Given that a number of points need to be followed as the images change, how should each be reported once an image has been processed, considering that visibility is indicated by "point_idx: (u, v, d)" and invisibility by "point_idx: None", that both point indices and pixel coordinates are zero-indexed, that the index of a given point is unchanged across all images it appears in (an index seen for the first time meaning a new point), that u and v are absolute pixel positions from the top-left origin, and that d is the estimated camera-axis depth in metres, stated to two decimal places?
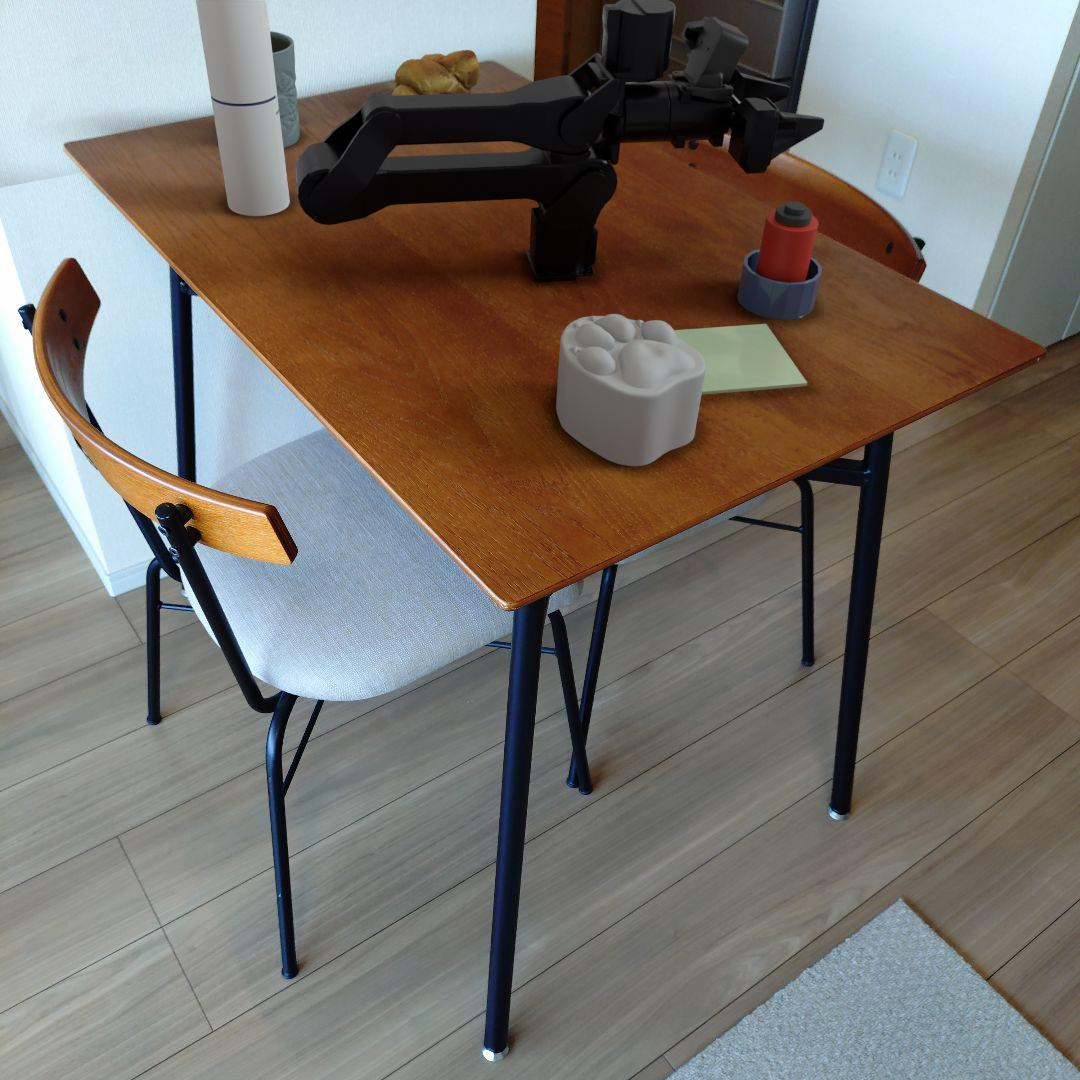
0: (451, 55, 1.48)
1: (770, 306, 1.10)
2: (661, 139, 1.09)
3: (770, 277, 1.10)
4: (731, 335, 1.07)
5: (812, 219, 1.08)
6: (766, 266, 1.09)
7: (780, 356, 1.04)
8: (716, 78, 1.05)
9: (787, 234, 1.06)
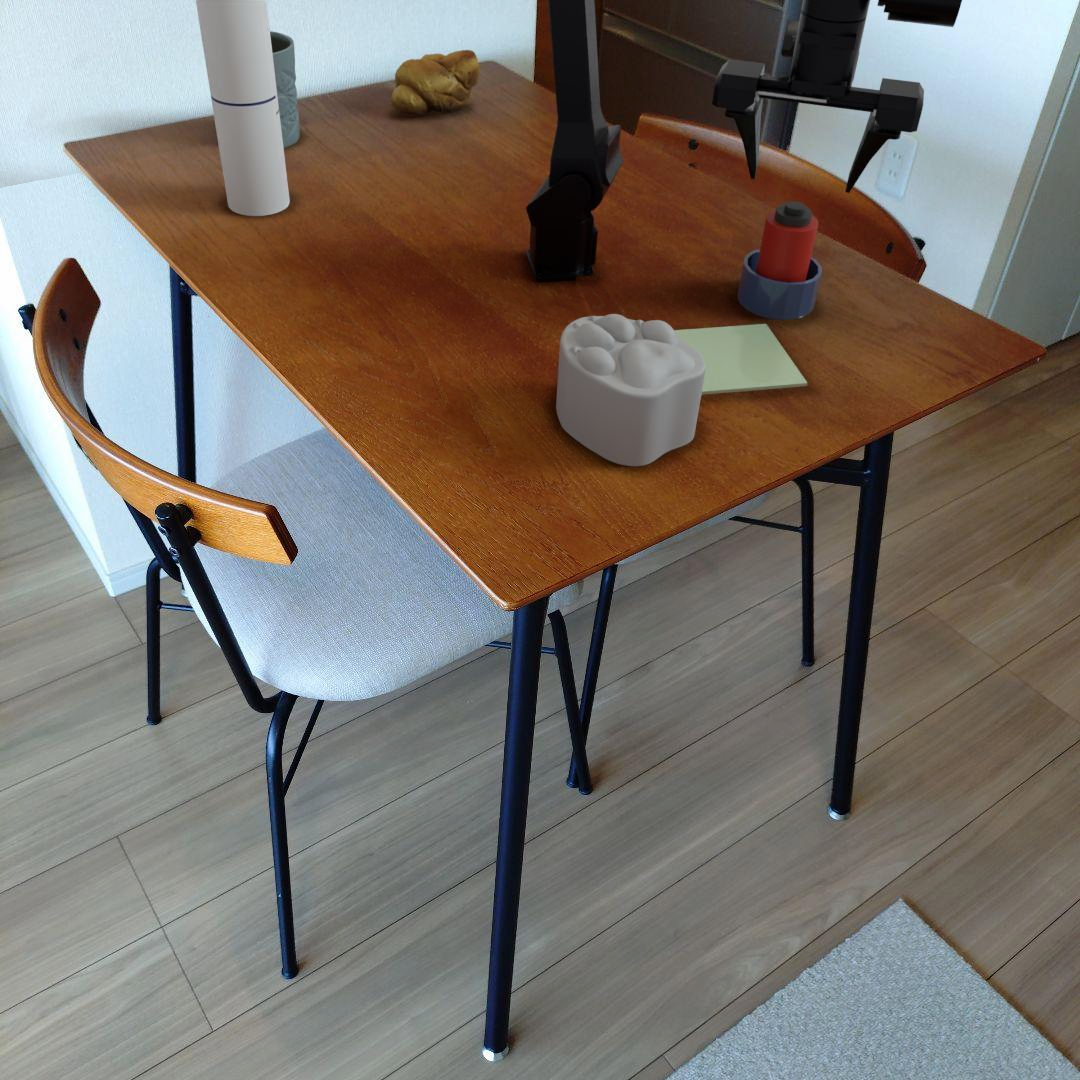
0: (451, 55, 1.48)
1: (770, 306, 1.10)
2: (809, 12, 0.94)
3: (770, 277, 1.10)
4: (731, 335, 1.07)
5: (812, 219, 1.08)
6: (766, 266, 1.09)
7: (780, 356, 1.04)
8: None
9: (787, 234, 1.06)
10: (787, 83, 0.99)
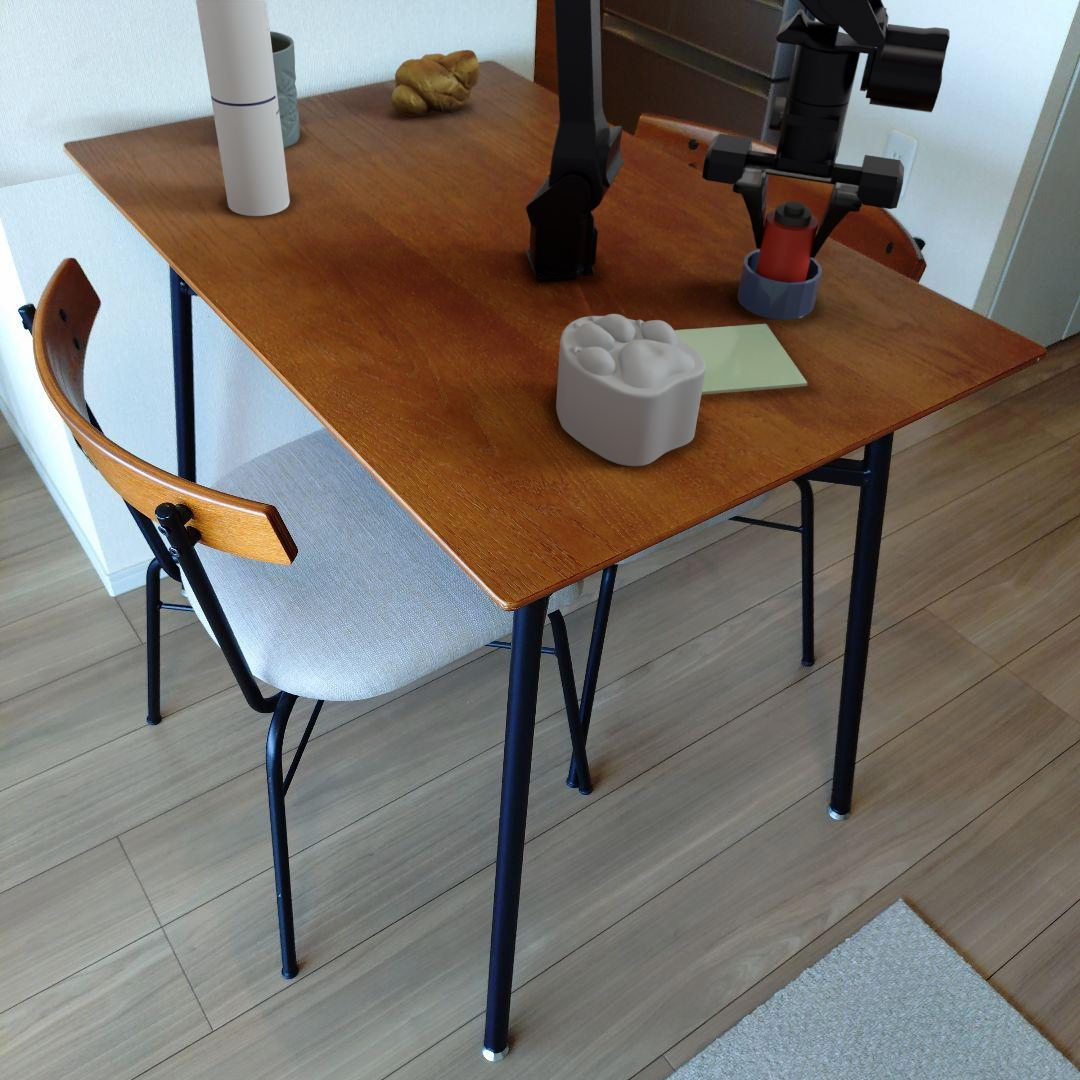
0: (451, 55, 1.48)
1: (770, 306, 1.10)
2: (794, 95, 0.98)
3: (770, 277, 1.10)
4: (731, 335, 1.07)
5: (812, 219, 1.08)
6: (766, 266, 1.09)
7: (780, 356, 1.04)
8: None
9: (787, 234, 1.06)
10: (774, 159, 1.04)
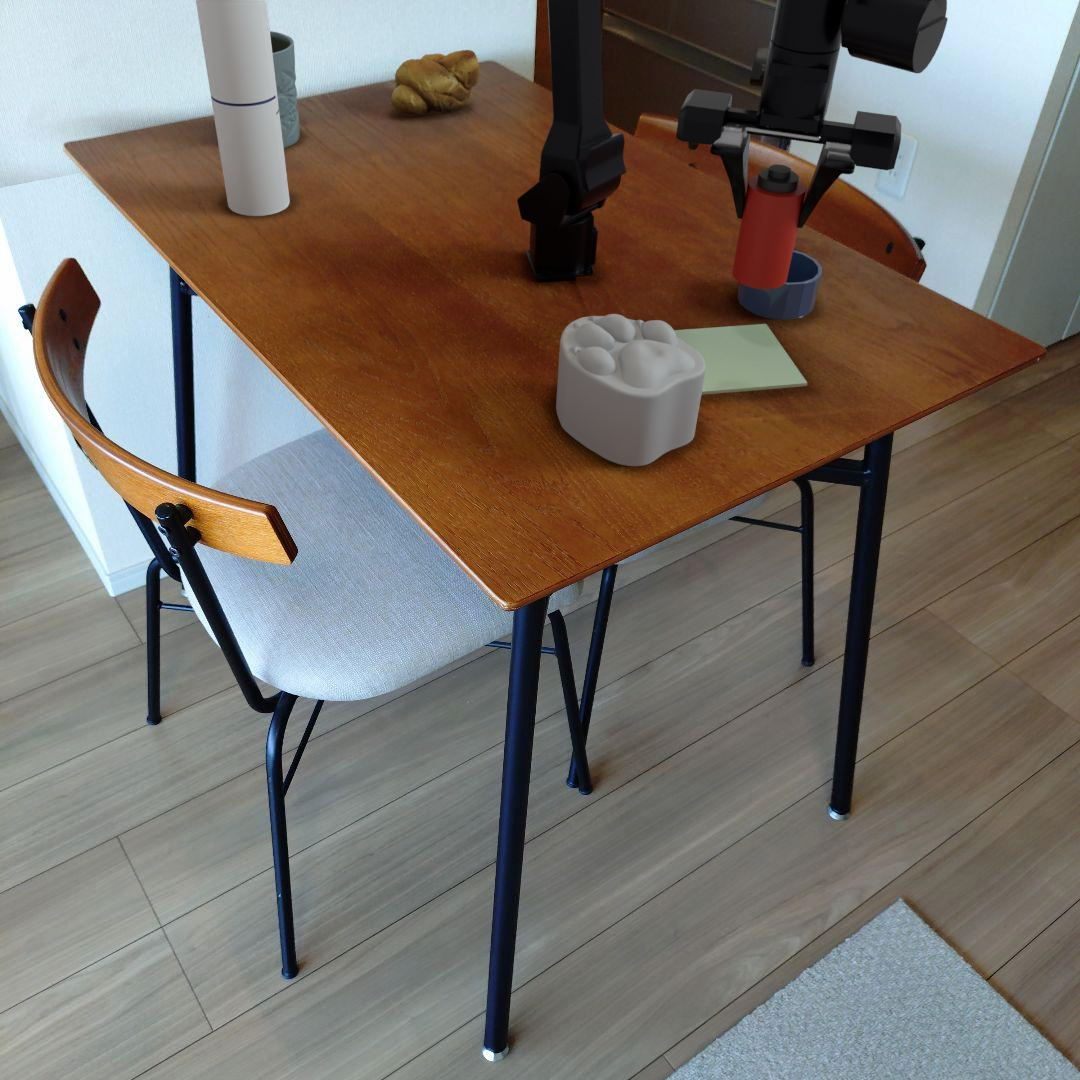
0: (451, 55, 1.48)
1: (770, 306, 1.10)
2: (772, 37, 0.88)
3: (753, 250, 0.98)
4: (731, 335, 1.07)
5: (799, 184, 0.97)
6: (748, 238, 0.98)
7: (780, 356, 1.04)
8: None
9: (772, 200, 0.95)
10: (756, 116, 0.93)
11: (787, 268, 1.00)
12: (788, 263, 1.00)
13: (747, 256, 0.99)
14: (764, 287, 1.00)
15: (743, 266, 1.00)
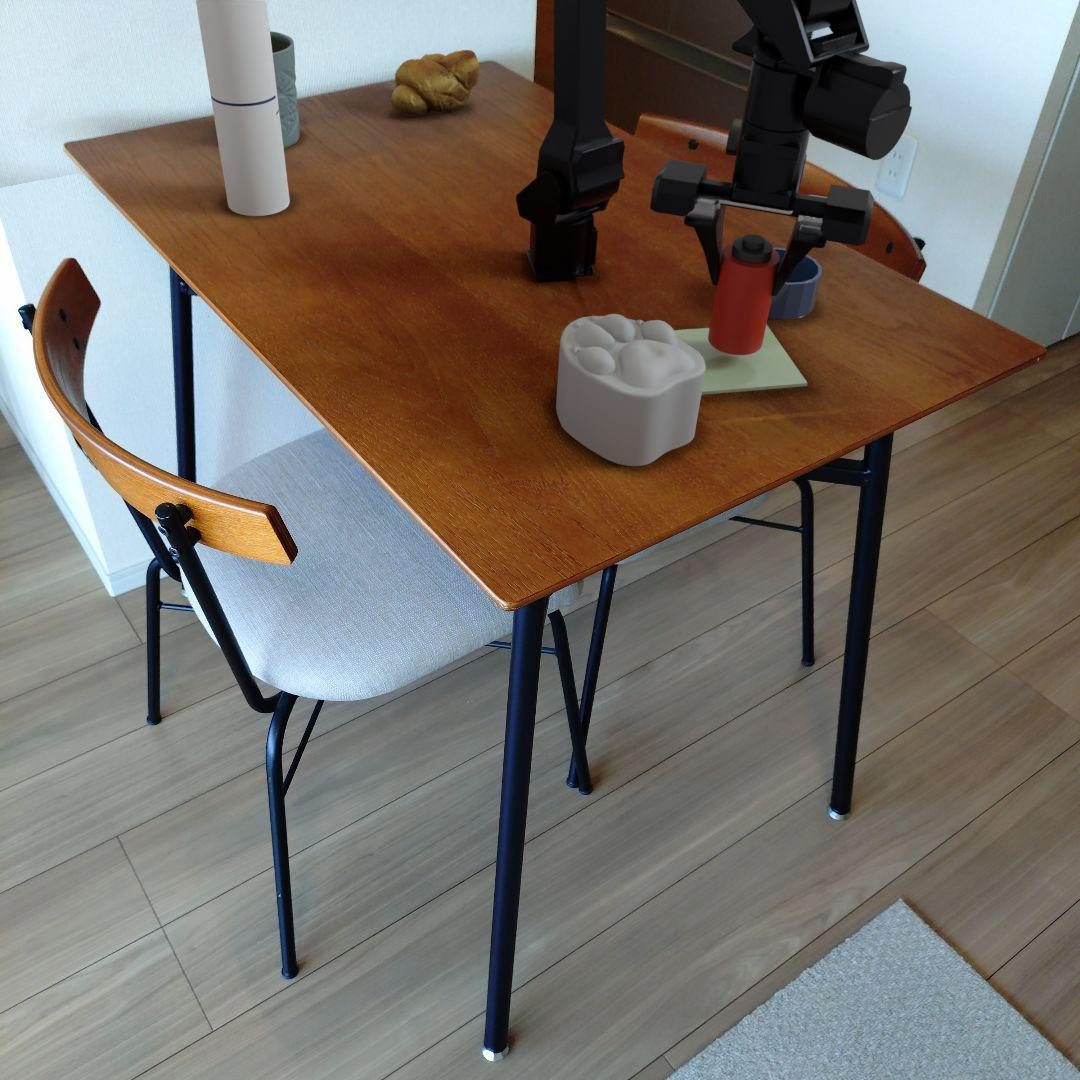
0: (451, 55, 1.48)
1: (770, 306, 1.10)
2: (744, 112, 0.89)
3: (727, 317, 0.99)
4: None
5: (773, 254, 0.97)
6: (722, 306, 0.99)
7: (780, 356, 1.04)
8: None
9: (745, 271, 0.96)
10: (729, 188, 0.93)
11: (762, 335, 1.01)
12: (763, 330, 1.01)
13: (722, 322, 1.00)
14: (738, 353, 1.01)
15: (718, 332, 1.01)
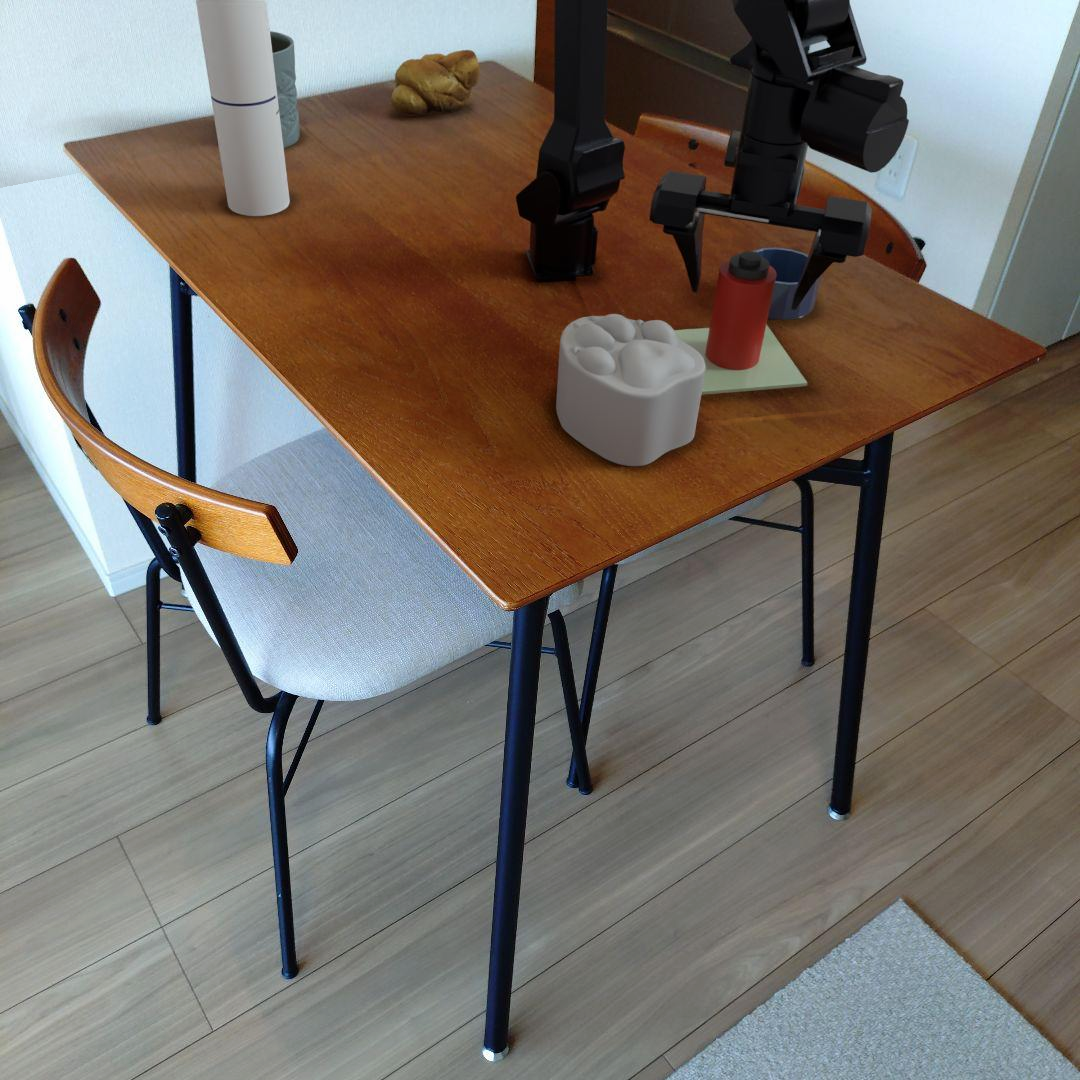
0: (451, 55, 1.48)
1: (770, 306, 1.10)
2: (742, 124, 0.90)
3: (724, 333, 1.00)
4: None
5: (770, 270, 0.98)
6: (720, 321, 1.00)
7: (780, 356, 1.04)
8: None
9: (742, 287, 0.97)
10: (728, 200, 0.94)
11: (759, 350, 1.02)
12: (759, 345, 1.02)
13: (719, 338, 1.01)
14: (736, 368, 1.02)
15: (715, 347, 1.02)
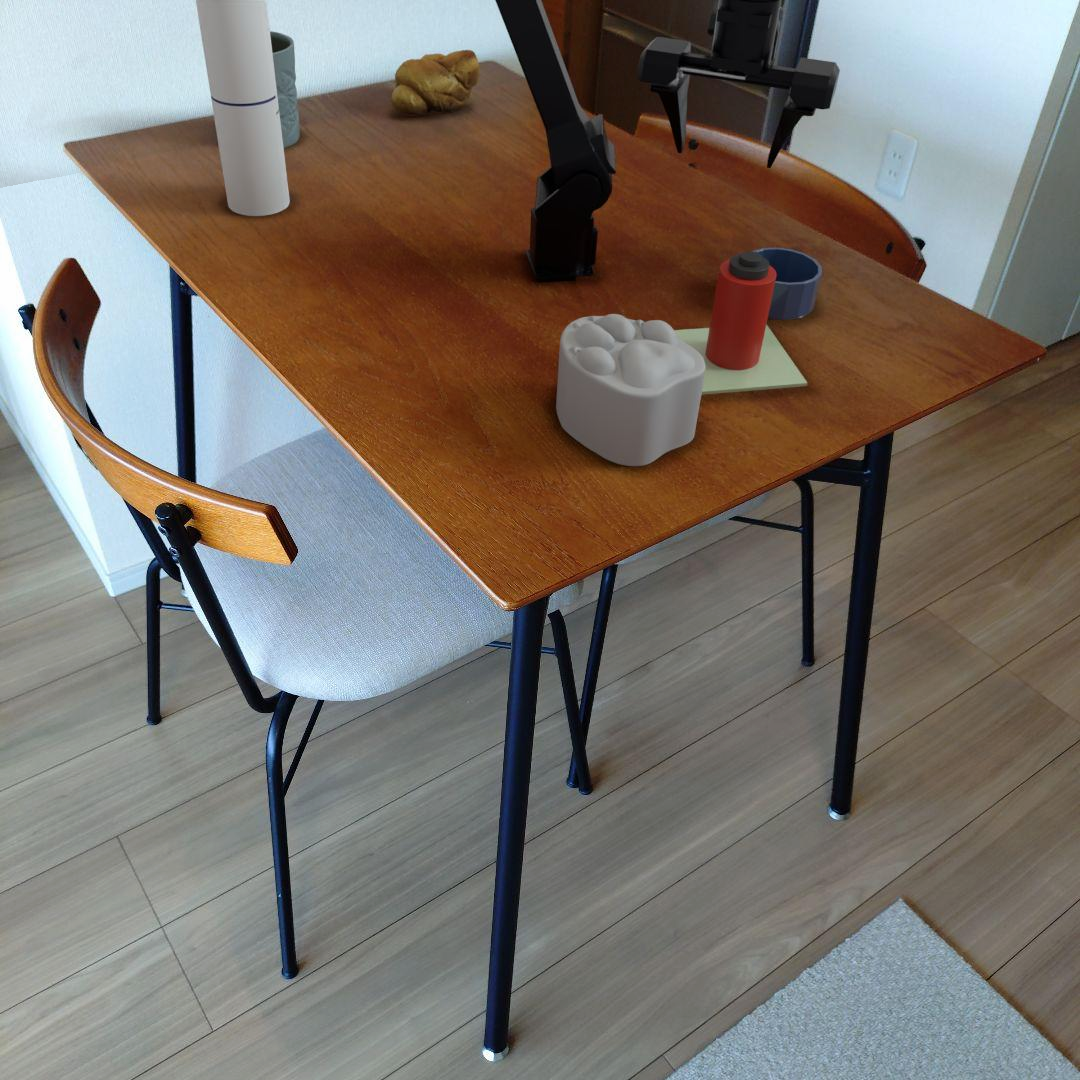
0: (451, 55, 1.48)
1: (770, 306, 1.10)
2: None
3: (724, 333, 1.00)
4: None
5: (770, 270, 0.98)
6: (720, 321, 1.00)
7: (780, 356, 1.04)
8: None
9: (742, 287, 0.97)
10: (709, 60, 1.03)
11: (759, 350, 1.02)
12: (759, 345, 1.02)
13: (719, 338, 1.01)
14: (736, 368, 1.02)
15: (715, 347, 1.02)
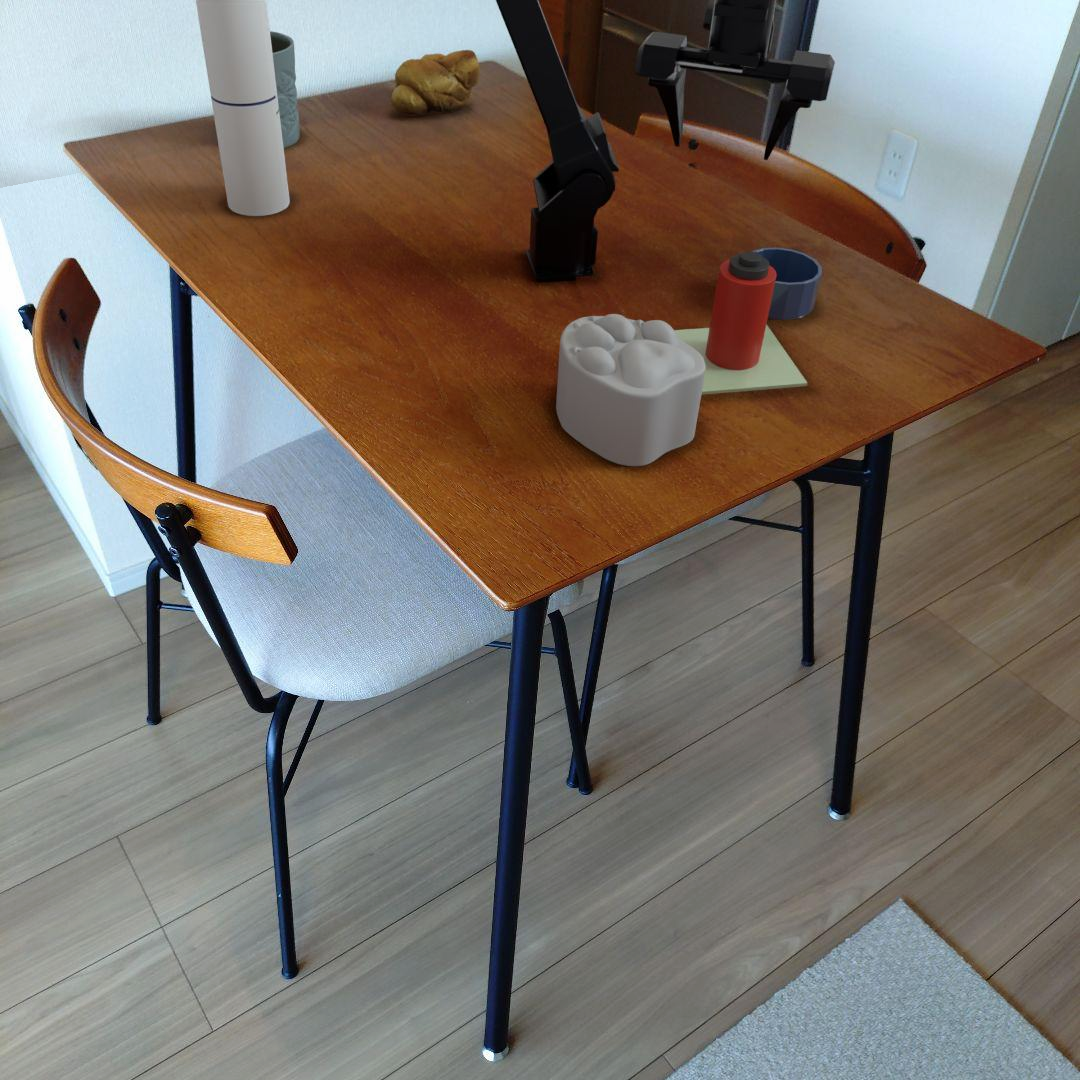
0: (451, 55, 1.48)
1: (770, 306, 1.10)
2: None
3: (724, 333, 1.00)
4: None
5: (770, 270, 0.98)
6: (720, 321, 1.00)
7: (780, 356, 1.04)
8: None
9: (742, 287, 0.97)
10: (706, 54, 1.05)
11: (759, 350, 1.02)
12: (759, 345, 1.02)
13: (719, 338, 1.01)
14: (736, 368, 1.02)
15: (715, 347, 1.02)
